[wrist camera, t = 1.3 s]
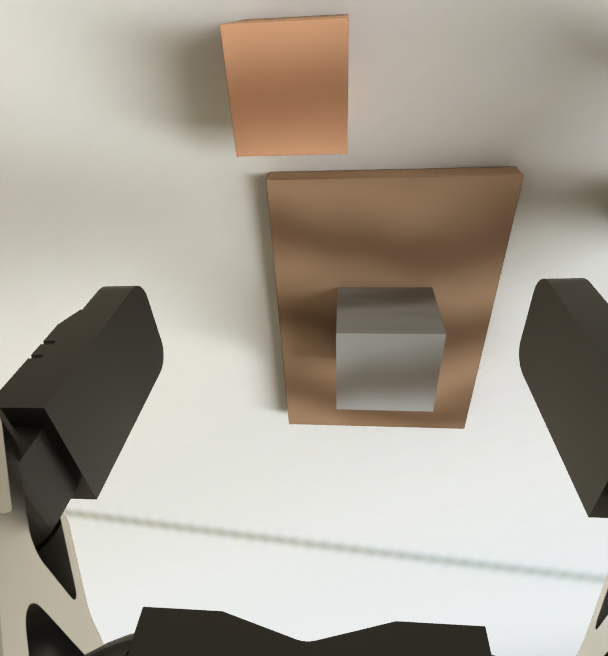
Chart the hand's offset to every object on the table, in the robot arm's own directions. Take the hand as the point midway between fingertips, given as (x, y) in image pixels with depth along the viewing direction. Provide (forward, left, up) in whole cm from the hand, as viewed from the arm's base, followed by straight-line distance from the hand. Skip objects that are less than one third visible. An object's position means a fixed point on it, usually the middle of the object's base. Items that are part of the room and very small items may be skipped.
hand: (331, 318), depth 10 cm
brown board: (+13, +3, -19) cm, 23 cm away
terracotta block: (-2, -2, -19) cm, 19 cm away
